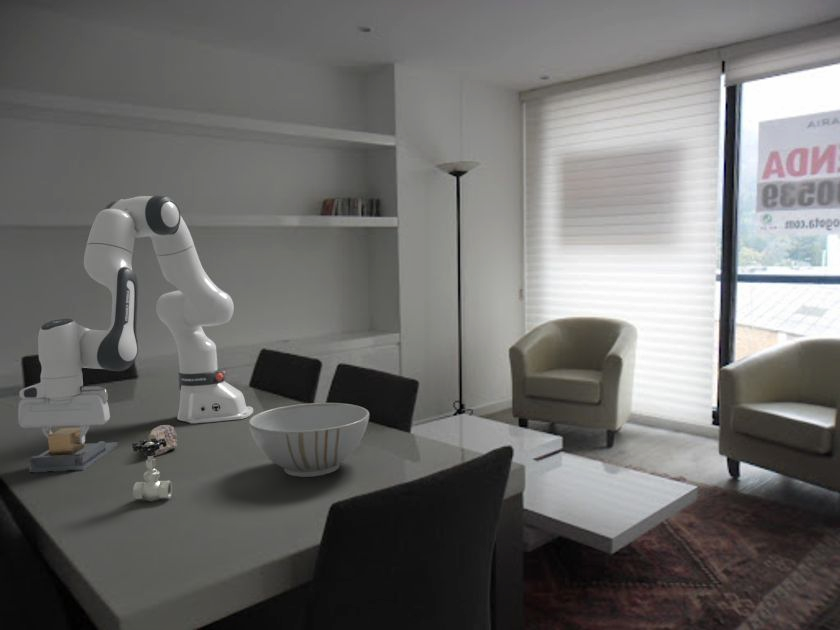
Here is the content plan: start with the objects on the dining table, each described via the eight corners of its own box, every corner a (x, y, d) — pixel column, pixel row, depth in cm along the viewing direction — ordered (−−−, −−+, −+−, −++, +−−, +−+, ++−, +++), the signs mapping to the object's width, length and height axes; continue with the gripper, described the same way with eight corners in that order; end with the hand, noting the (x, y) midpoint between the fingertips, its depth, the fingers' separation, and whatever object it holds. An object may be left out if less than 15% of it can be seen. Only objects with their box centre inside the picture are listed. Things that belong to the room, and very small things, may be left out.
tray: (117, 445, 176) (116, 432, 176) (83, 470, 156) (82, 455, 156) (69, 448, 175) (68, 435, 175) (29, 472, 155) (27, 458, 155)
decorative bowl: (318, 496, 133) (315, 437, 132) (225, 477, 148) (222, 423, 147) (394, 459, 156) (392, 408, 155) (307, 445, 170) (304, 398, 169)
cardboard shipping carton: (84, 447, 165) (83, 427, 165) (71, 455, 158) (69, 434, 158) (64, 448, 165) (62, 428, 165) (49, 456, 158) (48, 435, 158)
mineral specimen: (176, 456, 165) (175, 431, 165) (145, 459, 163) (143, 434, 163) (178, 443, 177) (177, 420, 177) (149, 446, 175) (148, 422, 175)
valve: (141, 495, 137) (137, 438, 136) (174, 493, 138) (171, 436, 137) (130, 507, 131) (126, 447, 130) (165, 505, 131) (161, 445, 130)
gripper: (112, 383, 164) (116, 438, 165) (26, 386, 163) (31, 442, 164) (101, 388, 158) (105, 445, 159) (12, 391, 157) (17, 449, 158)
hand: (67, 443), depth 162 cm, fingers closed on cardboard shipping carton, 5 cm apart
